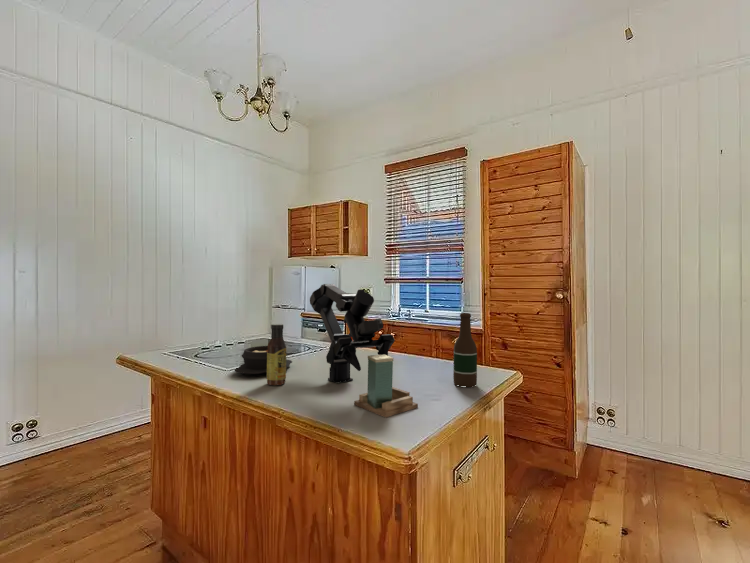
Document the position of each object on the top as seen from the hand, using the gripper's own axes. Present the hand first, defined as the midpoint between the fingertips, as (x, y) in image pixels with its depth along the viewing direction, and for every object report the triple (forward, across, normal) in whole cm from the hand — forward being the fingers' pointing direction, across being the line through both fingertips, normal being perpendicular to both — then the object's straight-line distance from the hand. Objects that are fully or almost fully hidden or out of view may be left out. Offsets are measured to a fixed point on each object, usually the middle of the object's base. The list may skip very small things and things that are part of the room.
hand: (373, 368), depth 111 cm
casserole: (-28, -19, +43) cm, 55 cm away
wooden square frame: (+11, 0, +1) cm, 11 cm away
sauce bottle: (-14, -20, +28) cm, 37 cm away
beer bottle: (+7, +35, +6) cm, 36 cm away
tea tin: (+11, -3, 0) cm, 11 cm away
